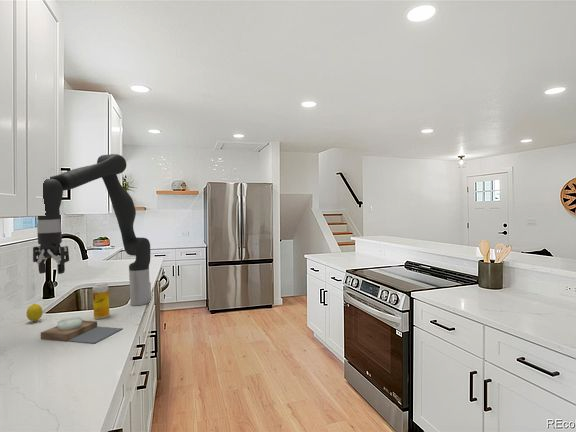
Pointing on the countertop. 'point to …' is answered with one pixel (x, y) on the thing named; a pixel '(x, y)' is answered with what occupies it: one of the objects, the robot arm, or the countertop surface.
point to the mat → (95, 335)
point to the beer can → (101, 300)
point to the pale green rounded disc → (69, 323)
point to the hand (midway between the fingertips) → (51, 273)
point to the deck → (68, 332)
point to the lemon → (34, 312)
